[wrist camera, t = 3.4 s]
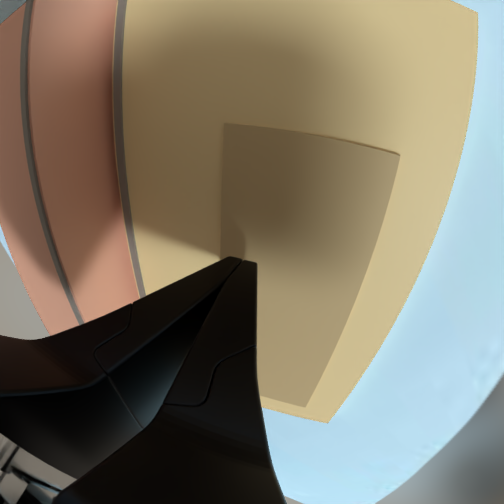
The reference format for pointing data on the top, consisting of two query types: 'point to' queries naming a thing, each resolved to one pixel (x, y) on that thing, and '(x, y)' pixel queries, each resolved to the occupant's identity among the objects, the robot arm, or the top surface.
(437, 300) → the top surface
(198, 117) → the tan rectangular slab
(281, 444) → the top surface
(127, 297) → the pink long block
